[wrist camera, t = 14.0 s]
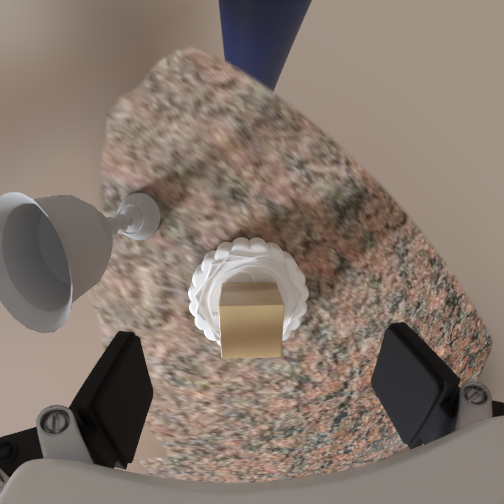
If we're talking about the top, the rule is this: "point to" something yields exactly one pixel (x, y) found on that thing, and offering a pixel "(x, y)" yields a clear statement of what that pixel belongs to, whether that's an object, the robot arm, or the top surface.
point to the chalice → (60, 251)
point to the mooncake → (246, 281)
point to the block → (251, 320)
